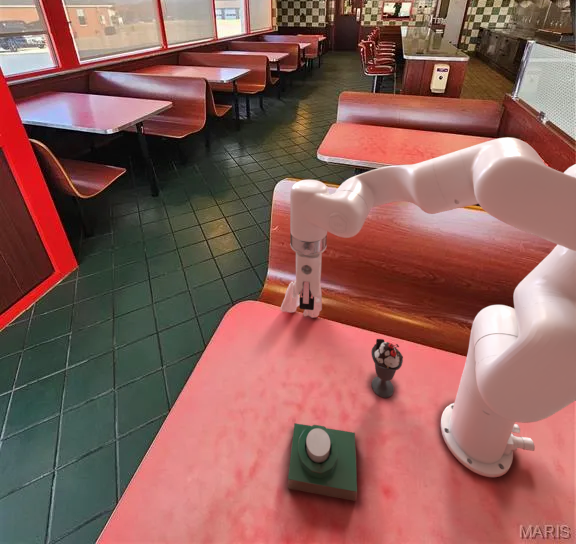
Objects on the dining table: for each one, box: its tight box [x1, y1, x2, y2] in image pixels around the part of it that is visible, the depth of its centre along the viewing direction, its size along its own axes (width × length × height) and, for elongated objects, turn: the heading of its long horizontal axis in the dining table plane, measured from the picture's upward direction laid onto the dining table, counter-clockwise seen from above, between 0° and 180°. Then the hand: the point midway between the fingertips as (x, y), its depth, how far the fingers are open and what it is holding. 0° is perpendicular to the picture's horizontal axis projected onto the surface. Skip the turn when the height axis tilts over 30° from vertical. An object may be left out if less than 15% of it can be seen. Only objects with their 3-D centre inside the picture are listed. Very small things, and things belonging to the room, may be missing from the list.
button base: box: [287, 422, 358, 502], centre depth 61 cm, size 12×9×5 cm
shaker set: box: [279, 279, 323, 319], centre depth 94 cm, size 12×4×11 cm, turn 84°
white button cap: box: [306, 428, 330, 463], centre depth 60 cm, size 4×4×2 cm
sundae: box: [370, 338, 404, 399], centre depth 73 cm, size 7×7×15 cm
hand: (306, 306), depth 74 cm, fingers closed
